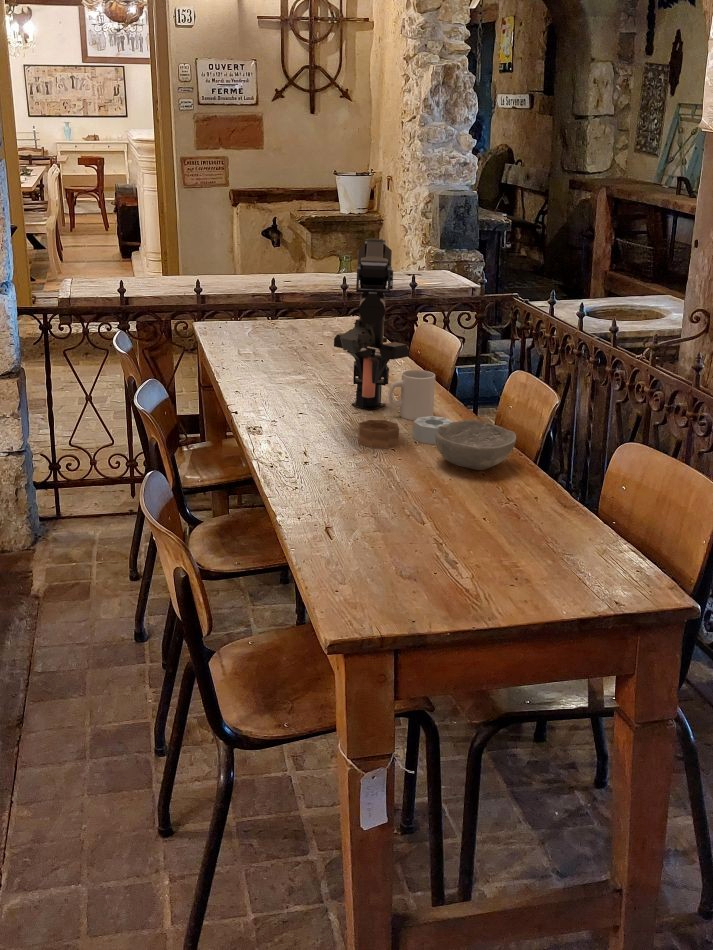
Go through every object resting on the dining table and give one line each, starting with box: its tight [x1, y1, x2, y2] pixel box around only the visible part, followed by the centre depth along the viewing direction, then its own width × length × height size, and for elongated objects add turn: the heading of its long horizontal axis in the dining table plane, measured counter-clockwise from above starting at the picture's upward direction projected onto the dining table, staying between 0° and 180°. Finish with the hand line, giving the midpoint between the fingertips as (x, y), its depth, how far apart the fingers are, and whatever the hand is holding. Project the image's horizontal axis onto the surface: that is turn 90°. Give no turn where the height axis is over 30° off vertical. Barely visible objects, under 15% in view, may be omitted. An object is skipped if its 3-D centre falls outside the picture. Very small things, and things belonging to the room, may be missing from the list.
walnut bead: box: [358, 419, 400, 449], centre depth 240 cm, size 9×9×4 cm
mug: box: [388, 369, 436, 421], centre depth 259 cm, size 12×8×11 cm
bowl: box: [435, 419, 517, 471], centre depth 226 cm, size 18×18×8 cm
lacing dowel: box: [362, 357, 375, 398], centre depth 241 cm, size 3×3×9 cm
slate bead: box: [412, 415, 454, 446], centre depth 244 cm, size 9×9×4 cm
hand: (369, 381), depth 241 cm, fingers closed on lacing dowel, 3 cm apart
